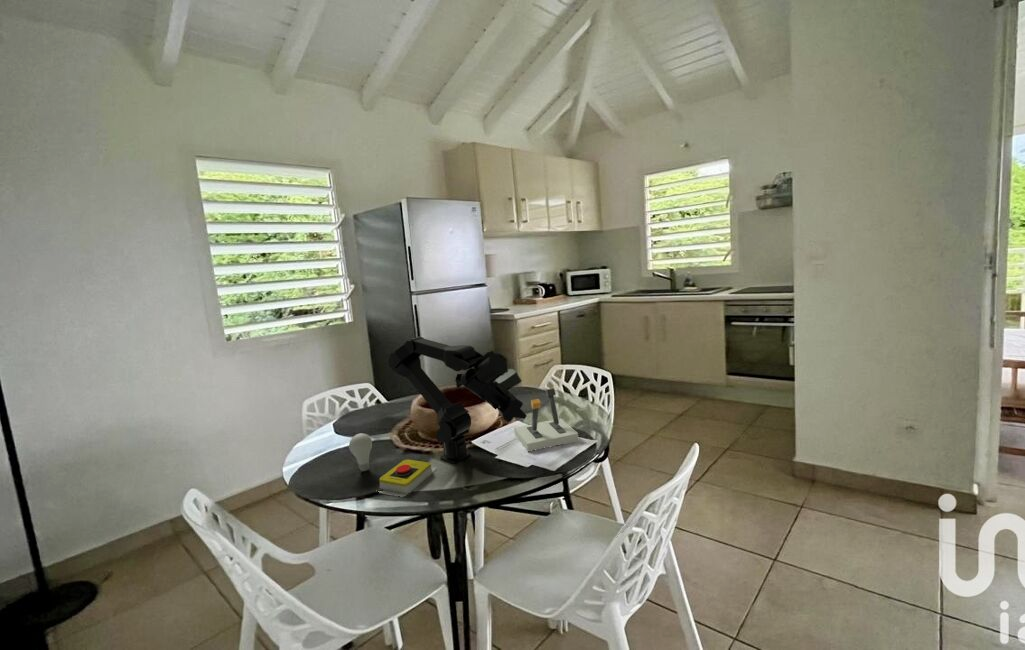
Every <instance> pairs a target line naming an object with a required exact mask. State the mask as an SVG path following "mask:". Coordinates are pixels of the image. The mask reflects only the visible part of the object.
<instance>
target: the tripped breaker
mask: <svg viewBox="0 0 1025 650" xmlns="http://www.w3.org/2000/svg"><path fill="white" fill-rule="evenodd" d="M541 406H542V402H541V400H540V399H539V398H535V399H531V400H530V407H531V409H532V416H531V417H532V418H531V424H532V430H534V431H535V430H537V423H539V421H538V420H539V419H538V417H539V409H541Z"/></svg>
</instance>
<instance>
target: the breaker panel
mask: <svg viewBox="0 0 1025 650" xmlns="http://www.w3.org/2000/svg"><path fill="white" fill-rule="evenodd" d="M545 395H546V397H547V398H548V400H549V406H550V409H551V410H550V411H551V415H552V419H551V420H546V421H541V422H537V430H535V431H534V430H532V423H531V424H526V425H521V426H515V427H514V428H513V430H514V436H515V435H516V436H517V437H516V436H515V437H516V438H518V439H519V440H520V441H519V440H518V439H517V440H518V441H519V442H521V443H522V444H523V445H522V444H521V443H520V444H521V445H522V447H523V448H524V447H525V448H526V449H525V448H524V449H525V451H526V452H527V451H531V450H535V449H540V448H544V447H549V448H551V447H550V446H554V447H556V446H555V445H559V446H561V445H560V444H563V445H566V444H565V443H568V444H572V442H573V443H577V442H579V441H580V439H579V433H578V431H576V430H575V429H574V428H572V426H570V424H568V422H566V420H564V419H563V418H559V415H558V411H557V405H556V401H555V396H556V391H555V388H550V389H545ZM540 450H541V449H540ZM535 451H536V450H535ZM531 452H532V451H531Z"/></svg>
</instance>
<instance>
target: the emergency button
mask: <svg viewBox="0 0 1025 650" xmlns="http://www.w3.org/2000/svg"><path fill="white" fill-rule="evenodd" d="M436 471H437V467H436V466H435V467H434V466H432V464H431V463H430V462H426V461H419V460H412V459H403V460H402V461H401V462H400V463H398V464H397V465H396V466H394V467H393V468H391V469H390V470H389V471H387V472H386V473H385V474H383V475H382V476H381V477H380V478H379V488H381V489H384V490H383V491H378V492H379V493H378V494H381V495H382V494H384V495H389V496H393V495H394V497H398V496H400V497H399V498H403V497H404V496H405V497H406V495H407V494H408V493H409V494H411V492H412V490H413V489H414V490H415V489H416V488H417V487H419V486H420V485H421V484H422V483H423V482H424V481H426V479H428V478H429V477H431V475H433V473H434V472H436ZM414 490H413V491H414ZM393 491H394V492H393ZM399 493H400V494H401V495H400V494H399ZM403 494H404V495H403ZM409 494H408V495H409ZM408 495H407V496H408Z"/></svg>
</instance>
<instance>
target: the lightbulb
mask: <svg viewBox="0 0 1025 650" xmlns="http://www.w3.org/2000/svg"><path fill="white" fill-rule="evenodd" d="M348 444H349V445H348V447H349V448H348V449H349V450H350V452H351V454H352V455H353V456H354V457H355V459H356V462H357V465H358V468H359V470H360V471H361V472H364V471H365V472H367V471H368V470H369V468H370V453H371V450H372V448H373V441H372V438H371V437H370V436H369V435H368V434H367V433H361V432H360V433H357V434H355V435H354V436H352V437H351V439H350V440H349V443H348Z"/></svg>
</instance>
